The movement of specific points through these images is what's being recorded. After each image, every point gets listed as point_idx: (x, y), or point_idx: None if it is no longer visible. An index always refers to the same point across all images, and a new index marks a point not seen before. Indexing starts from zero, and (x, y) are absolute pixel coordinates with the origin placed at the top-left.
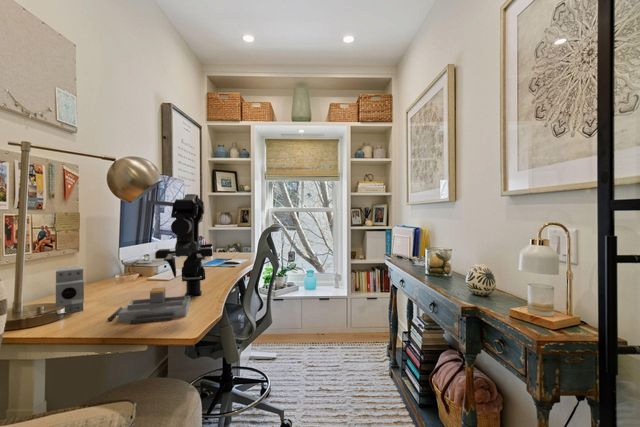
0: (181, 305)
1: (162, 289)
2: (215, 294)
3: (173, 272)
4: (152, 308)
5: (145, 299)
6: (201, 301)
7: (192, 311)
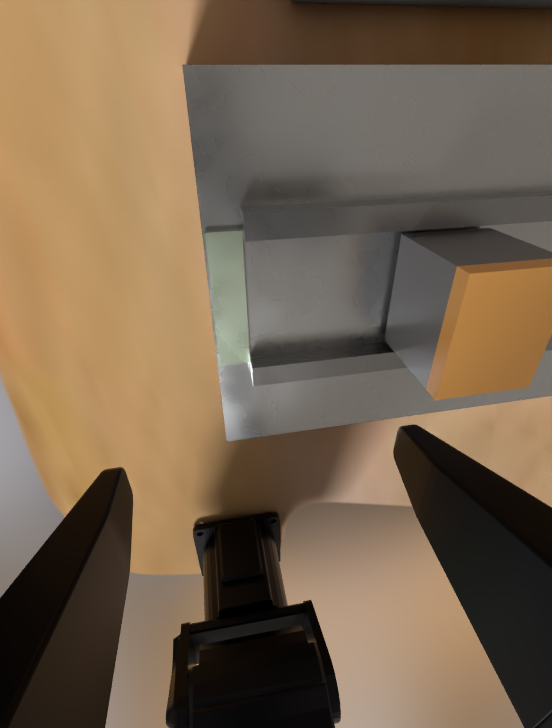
0: (242, 157)
1: (466, 321)
2: None
3: (475, 469)
4: (477, 129)
5: None
6: (159, 431)
7: (160, 209)
